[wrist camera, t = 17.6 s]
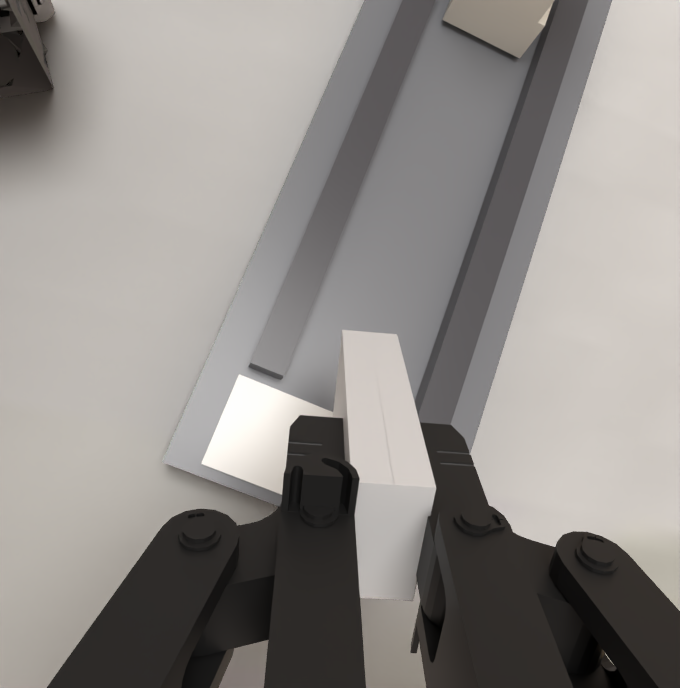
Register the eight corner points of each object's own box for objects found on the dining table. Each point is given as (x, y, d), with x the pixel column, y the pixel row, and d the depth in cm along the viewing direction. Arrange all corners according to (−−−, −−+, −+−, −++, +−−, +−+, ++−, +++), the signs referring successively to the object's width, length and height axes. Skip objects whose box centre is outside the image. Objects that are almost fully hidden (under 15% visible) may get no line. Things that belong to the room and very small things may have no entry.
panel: (166, 461, 22) (159, 462, 19) (414, -106, 29) (437, -169, 26) (416, 557, 23) (445, 570, 20) (598, -10, 30) (639, -59, 27)
